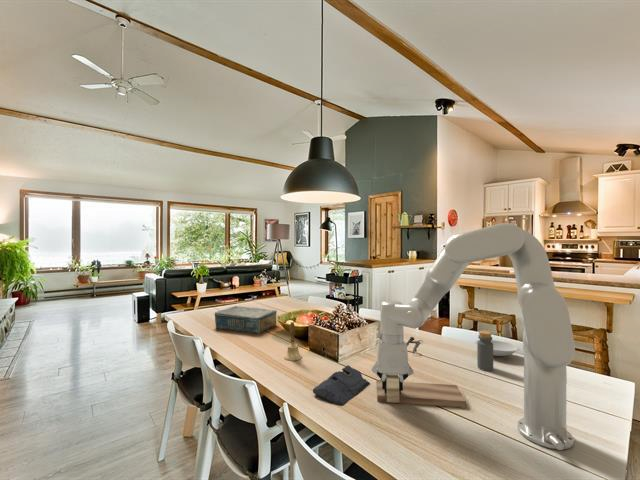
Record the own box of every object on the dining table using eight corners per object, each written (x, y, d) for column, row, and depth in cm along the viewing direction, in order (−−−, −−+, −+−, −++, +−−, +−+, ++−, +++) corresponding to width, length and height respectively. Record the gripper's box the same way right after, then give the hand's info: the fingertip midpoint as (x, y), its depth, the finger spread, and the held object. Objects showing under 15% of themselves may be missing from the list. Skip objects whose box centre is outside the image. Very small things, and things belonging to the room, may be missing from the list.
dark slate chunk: (305, 395, 109) (305, 382, 109) (338, 373, 127) (338, 361, 127) (342, 409, 101) (342, 394, 100) (373, 383, 118) (373, 370, 118)
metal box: (236, 320, 208) (235, 305, 208) (278, 325, 196) (277, 309, 195) (213, 329, 189) (213, 312, 189) (258, 335, 176) (258, 317, 176)
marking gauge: (399, 402, 102) (399, 380, 102) (386, 402, 103) (386, 379, 103) (396, 387, 112) (396, 367, 112) (385, 387, 113) (385, 366, 113)
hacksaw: (410, 338, 168) (410, 336, 168) (430, 341, 163) (430, 339, 163) (398, 353, 147) (398, 350, 147) (420, 357, 142) (420, 354, 142)
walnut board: (466, 407, 100) (466, 401, 100) (377, 401, 104) (377, 395, 104) (456, 390, 111) (456, 385, 111) (376, 385, 115) (376, 380, 115)
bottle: (495, 371, 126) (495, 334, 126) (479, 370, 127) (479, 333, 127) (490, 365, 132) (490, 330, 132) (475, 364, 133) (475, 329, 133)
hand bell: (283, 361, 139) (282, 325, 139) (284, 354, 147) (284, 320, 147) (301, 360, 139) (301, 324, 139) (302, 353, 147) (302, 319, 147)
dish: (472, 356, 142) (472, 345, 142) (477, 347, 154) (477, 337, 154) (518, 365, 132) (518, 353, 132) (519, 354, 144) (519, 343, 144)
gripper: (366, 340, 103) (367, 395, 103) (419, 342, 100) (419, 399, 101) (367, 333, 110) (367, 385, 111) (416, 335, 108) (416, 388, 108)
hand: (392, 391), depth 106 cm, fingers closed on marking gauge, 4 cm apart
